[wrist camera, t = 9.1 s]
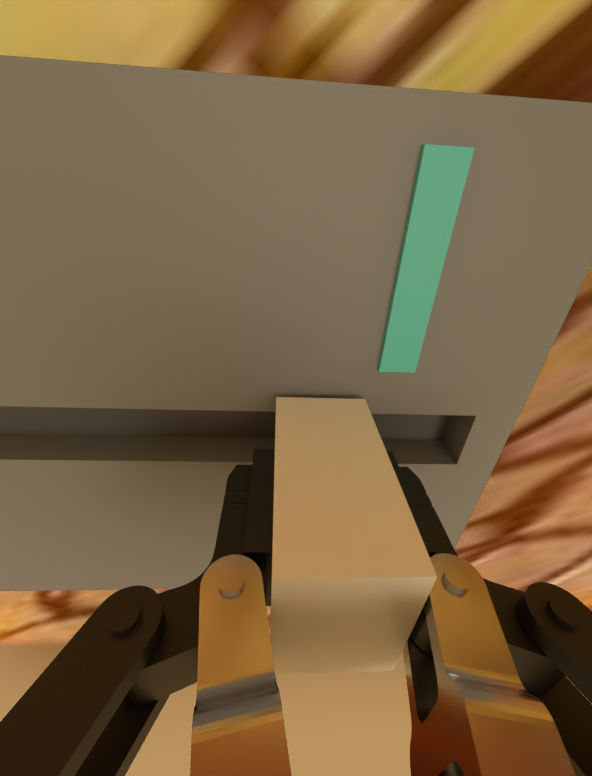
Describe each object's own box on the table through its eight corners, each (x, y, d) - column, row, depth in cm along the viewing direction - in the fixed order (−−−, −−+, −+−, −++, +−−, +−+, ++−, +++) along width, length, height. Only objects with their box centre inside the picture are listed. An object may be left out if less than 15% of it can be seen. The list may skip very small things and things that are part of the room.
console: (-580, 39, 8) (-928, -24, 6) (582, 126, 10) (675, 107, 8) (-111, 545, 18) (-168, 597, 16) (420, 543, 20) (438, 589, 18)
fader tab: (276, 376, 12) (271, 578, 6) (356, 378, 12) (437, 576, 6) (274, 458, 14) (269, 673, 8) (343, 459, 14) (393, 670, 8)
